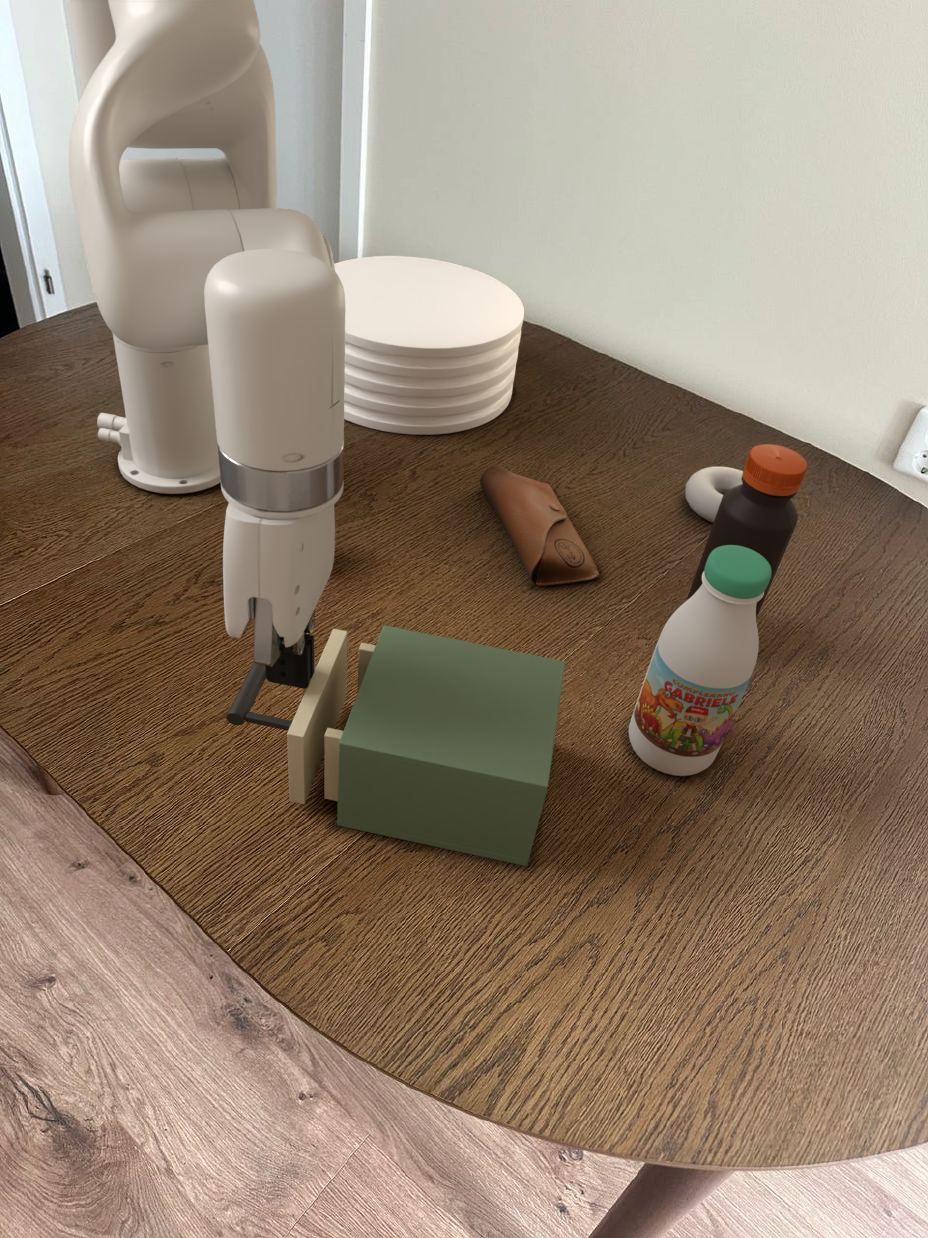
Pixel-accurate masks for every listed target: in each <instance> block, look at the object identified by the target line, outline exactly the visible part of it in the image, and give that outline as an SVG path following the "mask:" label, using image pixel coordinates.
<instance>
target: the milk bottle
mask: <svg viewBox="0 0 928 1238" xmlns="http://www.w3.org/2000/svg"><path fill="white" fill-rule="evenodd" d="M771 572H772V570H771V566H770V564H769V563H768V561H767V560H766V559H765V558H764V557H763V556H761V555H760V554H759V553H757V552H755V551H753V550H751V549H749V548H746V547H742V546H737V545H725V546H720V547H717V548H716V549H714V550H713V551H712V552H711V554H710V555H709V557H708V559H707V562H706V565H705V569H704V572H703V573H702V585H701V586H700V588H699V589H698V590H697V591H696V593H695V594H694V595H693V596H692V597H691V598H689V599H688V600H687V599H686V600H687V601H684V602H683V603H682V604H681V605H680V606H679V607H678V608H677V609H675V611H674V612H673V613H672V614H671V616H670V617H669V618H668V620H667V622H666V623H665V625H664V626H663V629H662V630H661V633H660V634H659V637H658V640H657V642H656V645H655V647H654V650H653V653H652V656H651V659H650V661H649V665H648V667H647V670H646V673H645V676H644V678H643V682H642V685H641V687H640V691H639V694H638V697H637V700H636V703H635V706H634V709H633V712H632V715H631V718H630V722H629V725H628V738H629V741H630V745H631V747H632V749H633V751H634V753H635V755H636V756H638V757H639V758H640V760H641V761H642V762H644V763H645V764H647V765H648V766H649V767H651V768H652V769H655V770H656V771H657V772H661V773H664V774H667V775H671V776H679V777H687V776H693V775H696V774H699V773H701V772H703V771H705V770H707V769H708V768H709V767H710V766H711V765H712V764H713V763H714V761H715V760H716V758H717V755H718V754H719V752H720V750H721V747H722V745H723V743H724V740H725V739H726V737H727V734H728V732H729V729H730V728H731V725H732V722H733V720H734V718H735V716H736V714H737V711H738V709H739V707H740V704H741V702H742V700H743V697H744V695H745V693H746V690H747V688H748V686H749V683H750V680H751V679H752V676H753V673H754V670H755V668H756V665H757V660H758V656H759V647H760V644H759V643H760V638H759V637H760V636H759V630H758V623H757V619H756V604H757V602H758V601H759V600H761V598H762V597H763V595H764V591H765V590H766V588H767V586H768V584H769V581H770V578H771Z"/></svg>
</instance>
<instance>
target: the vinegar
mask: <svg viewBox="0 0 928 1238" xmlns="http://www.w3.org/2000/svg"><path fill="white" fill-rule="evenodd" d="M808 467H809V466H808V462H807V461H806V459H805V458H804V457H803V456H802V455H801V454H799V453H798V452H797V451H795V450H793V449H790V448H789V447H785V446H782V445H779V444H770V443H767V444H759V445H756V446H753V447H752V448H750V451H749V453H748V455H747V459H746V461H745V464H744V468H743V470H742V471H743V473H742V478H741V480H742V483H743V484H741V485H738V486H736V487H733V488H731V489H730V490H729V491H727V492H726V493H725V494H724V495H723V497H722V500H721V503H720V506H719V509H718V511H717V514H716V517H715V520H714V523H712V526H711V528H710V532H709V535H708V537H707V541H706V542H705V546H704V548H703V552H702V555H701V557H700V561H699V563H698V566H697V569H696V572H695V575H694V577H693V579H692V583H691V586H690V589H689V592H688V595H687V598H686V601H687V600H688V599H689V598H691V597H692V596H693V595H694V594H695V593H696V591H697V590H698V589H699V588H700V586H701V585H702V573H703V572H704V569H705V565H706V562H707V559H708V557H709V555H710V554H711V552H712V551H713V550H714V549H716V548H717V547H720V546H725V545H737V546H742V547H746V548H749V549H751V550H753V551H755V552H757V553H759V554H760V555H761V556H763V557H764V558H765V559H766V560H767V561H768V563H769V564H770V566H771V570H772V572H771V578H770V581H769V584H768V586H767V588H766V590H765V591H764V595H763V597H762V598H761V600H759V601H758V602H757V604H756V620H757V619H758V616H759V614H760V612H761V609H762V606H763V605H764V602H765V600H766V597H767V595H768V592H769V591H770V588H771V585H772V583H773V581H774V579H775V576H776V573H777V571H778V569H779V566H780V564H781V562H782V560H783V557H784V555H785V552H786V550H787V547H788V545H789V543H790V541H791V538H792V536H793V533H794V531H795V528H796V527H797V522H798V518H799V514H798V511H797V509H796V506H795V504H794V502H793V500H792V499H793V498H794V497H795V496H796V495H797V492H798V491H799V490H800V488H801V485H802V483H803V480H804V478H805V476H806V473H807V471H808ZM686 601H685V602H686Z"/></svg>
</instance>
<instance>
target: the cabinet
mask: <svg viewBox="0 0 928 1238" xmlns="http://www.w3.org/2000/svg"><path fill="white" fill-rule="evenodd" d="M375 645H376V646H375V649H374V651H373V654H372V657H371V659H370V662H369V665H368V667H367V670H366V673H365V675H364V678H363V681H362V683H361V686H360V689H359V691H358V694H357V693H356V697H355V700H354V702H353V704H352V707H351V710H350V713H349V715H348V718H347V720H346V724H345V726H344V729H343V730H342V731H343V734H342V736H341V739H340V742H339V765H338V801H337V818H336V819H337V820H336V821H337V824H336V825H337V826H338V827H342V828H348V829H352V830H357V831H362V832H366V833H370V834H375V835H380V836H384V837H389V838H394V839H399V840H403V841H408V842H412V843H417V844H421V845H425V846H430V847H435V848H440V849H445V850H449V851H453V852H459V853H463V854H467V855H473V856H478V857H482V858H487V859H490V860H495V861H499V862H504V863H509V864H515V865H520V866H524V867H527V866H528V864H529V861H530V858H531V857H530V856H531V852H532V848H533V845H534V842H535V837H536V834H537V831H538V830H537V829H538V826H539V824H540V820H541V815H542V812H543V808H544V804H545V801H546V796H547V792H548V788H549V784H550V775H551V769H552V762H553V761H552V760H553V756H554V755H553V754H554V747H555V740H556V733H557V726H558V718H559V711H560V703H561V697H562V690H563V683H564V675H565V668H566V667H565V666H566V661H564V660H559V659H555V658H551V657H550V658H549V657H545V656H544V657H543V656H540V655H534V654H531V653H526V652H520V651H514V650H510V649H505V648H500V647H495V646H490V645H485V644H480V643H476V642H470V641H466V640H461V639H460V640H459V639H455V638H451V637H450V638H449V637H445V636H440V635H434V634H430V633H425V632H419V631H415V630H409V629H405V628H400V627H395V626H390V625H382V627H381V630H380V633H379V635H378V638H377V640H376V644H375Z"/></svg>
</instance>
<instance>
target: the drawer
mask: <svg viewBox="0 0 928 1238" xmlns="http://www.w3.org/2000/svg"><path fill="white" fill-rule="evenodd" d="M375 646H376V644H370V643H365V642H361V643H360V645H359V648H358V661H357V662H358V665H357V690H356V691H357V692H356V695H357V694H358V691H359V689H360V686H361V683H362V681H363V678H364V675H365V673H366V670H367V667H368V665H369V662H370V659H371V657H372V654H373V651H374V649H375ZM317 662H318V663H317V664H316V666H315V668H314V670H315V672H314V674H313V677H312V678H311V679H310V683H309V686H308V688H306V689H305V692H304V694H303V697H302V699H301V701H300V703H299V706H298V708H297V710H296V712H295V715H294V717H293V719H292V720H290V719H285V718H281V717H277V716H271V715H266V714H261V713H257V712H252V711H251V709H252V707H253V705H254V704H255V701H256V699H257V697H258V695H259V693H260V692H261V689H262V687H263V684H265V680H267V679H266V666H265V665H261V664H256V663H254V662H252V664H251V667H250V669H249V671H248V672H247V674H246V676H245V678H244V680H243V682H242V684H241V685H240V688H239V690H238V692H237V693H236V695H235V697H234V700H233V701H232V704H231V705H230V707H229V709H228V711H227V713H226V716H225V717H226V720H227V722H228V723H230V724H231V725H233V726H242V725H243V724H245V722H246V723H250V724H255V725H259V726H264V727H267V728H268V727H269V728H273V729H277V730H282V731H287V733H286V740H287V741H286V742H287V765H288V766H287V768H288V769H287V771H288V789H289V790H288V791H289V792H288V793H289V794H288V795H289V802H290V803H296V804H300V805H306V802H307V800H308V797H309V794H310V793H311V790H312V788H313V785H314V782H315V779H316V777H317V774H318V772H319V769H320V767H321V765H322V764H321V763H322V761H323V759H324V762H323V763H324V766H323V767H324V773H323V774H324V775H323V776H324V777H323V778H324V779H323V781H324V782H323V784H324V786H323V787H324V790H323V793H324V795H323V796H324V797H323V798H324V799H325V800H330V801H335V802H338V765H339V742H340V739H341V736H342V734H343V731H344V730H341V729H337V728H335V727H336V725H337V722H338V720H339V718H340V716H341V715H340V714H341V712H342V710H343V708H344V705H345V702H346V699H347V671H348V670H347V668H348V631H347V630H343V629H337V628H332V630H331V633H330V635H329V637H328V639H327V642H326V644H325V646H324V649H323V651H322V653H321V656H320V658H319V661H317Z"/></svg>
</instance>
